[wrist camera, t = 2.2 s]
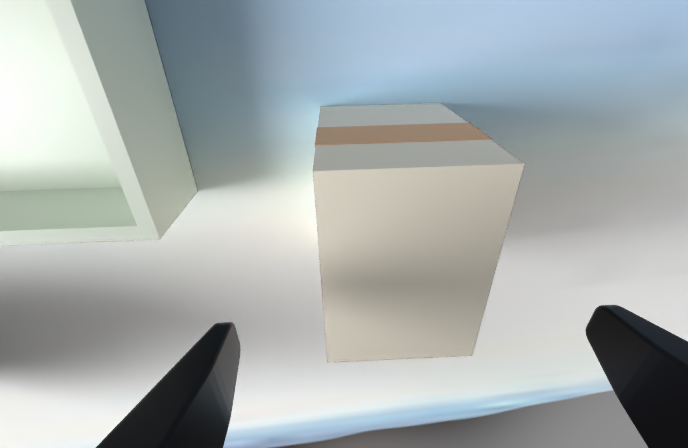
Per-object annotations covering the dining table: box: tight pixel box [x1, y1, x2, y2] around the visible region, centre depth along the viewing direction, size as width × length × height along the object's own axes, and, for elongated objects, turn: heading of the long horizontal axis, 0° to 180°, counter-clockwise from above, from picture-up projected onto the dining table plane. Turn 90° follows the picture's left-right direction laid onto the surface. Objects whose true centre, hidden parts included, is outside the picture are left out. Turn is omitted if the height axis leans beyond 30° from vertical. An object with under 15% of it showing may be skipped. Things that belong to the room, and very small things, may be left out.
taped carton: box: [313, 103, 524, 362], centre depth 13 cm, size 7×5×7 cm
